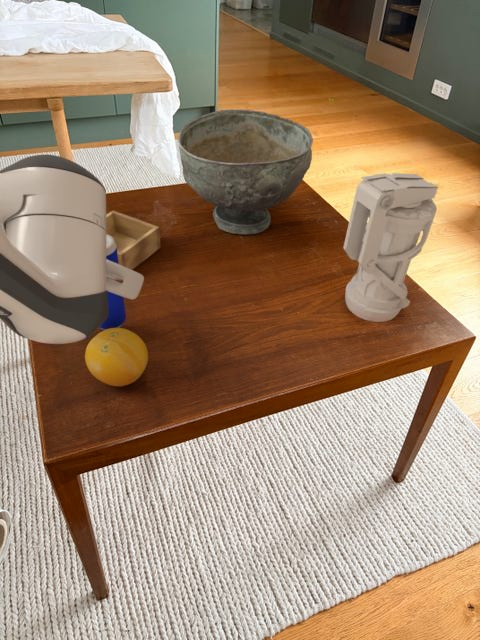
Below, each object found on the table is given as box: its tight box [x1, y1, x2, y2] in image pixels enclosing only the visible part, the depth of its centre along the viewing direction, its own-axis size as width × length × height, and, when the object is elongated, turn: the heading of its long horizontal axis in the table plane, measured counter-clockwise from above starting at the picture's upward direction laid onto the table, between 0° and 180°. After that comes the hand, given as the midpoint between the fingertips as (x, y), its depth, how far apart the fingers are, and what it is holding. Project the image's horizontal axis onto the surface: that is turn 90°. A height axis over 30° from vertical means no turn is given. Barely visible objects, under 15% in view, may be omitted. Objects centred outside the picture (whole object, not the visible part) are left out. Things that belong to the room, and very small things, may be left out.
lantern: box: [343, 172, 439, 323], centre depth 81 cm, size 13×10×25 cm
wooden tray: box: [106, 210, 162, 271], centre depth 97 cm, size 12×12×5 cm
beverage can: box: [98, 234, 127, 331], centre depth 75 cm, size 5×5×15 cm
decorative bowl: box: [177, 108, 314, 235], centre depth 104 cm, size 26×26×20 cm
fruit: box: [84, 327, 149, 387], centre depth 72 cm, size 9×8×8 cm
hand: (105, 273), depth 74 cm, fingers closed on beverage can, 5 cm apart
